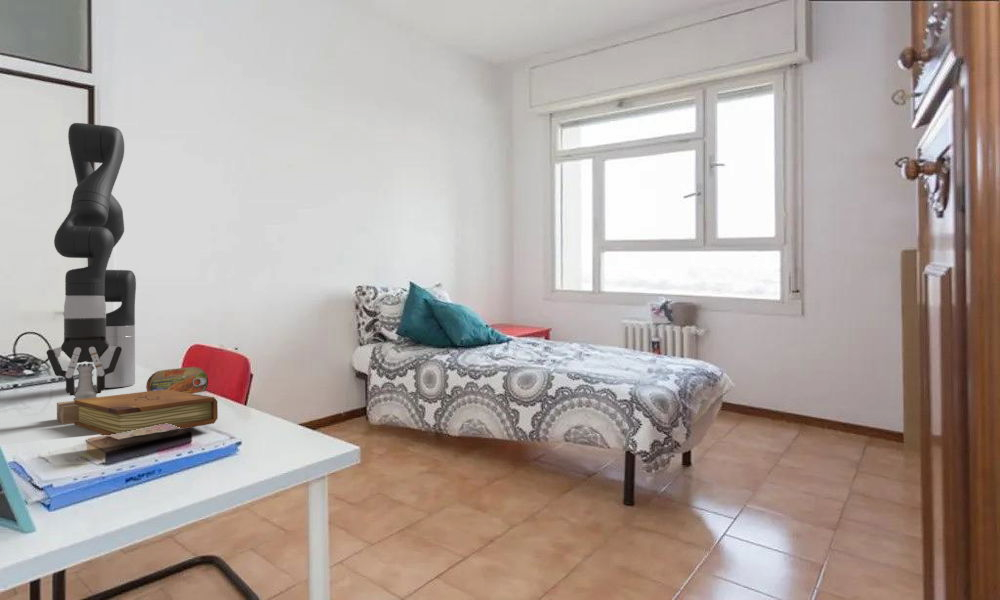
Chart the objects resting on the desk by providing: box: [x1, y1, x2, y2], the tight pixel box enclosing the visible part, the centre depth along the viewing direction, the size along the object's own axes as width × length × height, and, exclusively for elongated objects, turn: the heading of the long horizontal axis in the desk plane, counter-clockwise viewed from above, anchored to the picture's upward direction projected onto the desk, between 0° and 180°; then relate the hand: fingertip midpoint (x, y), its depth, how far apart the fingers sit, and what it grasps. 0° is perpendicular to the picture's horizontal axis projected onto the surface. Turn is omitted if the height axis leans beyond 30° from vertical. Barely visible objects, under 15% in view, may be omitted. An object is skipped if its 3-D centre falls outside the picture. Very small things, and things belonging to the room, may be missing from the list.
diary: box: [73, 389, 219, 436], centre depth 120 cm, size 23×19×6 cm
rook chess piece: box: [72, 363, 98, 401], centre depth 125 cm, size 4×4×8 cm
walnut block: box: [56, 400, 79, 426], centre depth 125 cm, size 8×8×4 cm
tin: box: [145, 366, 209, 394], centre depth 151 cm, size 15×3×8 cm, turn 144°
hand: (85, 393), depth 125 cm, fingers closed on rook chess piece, 4 cm apart
